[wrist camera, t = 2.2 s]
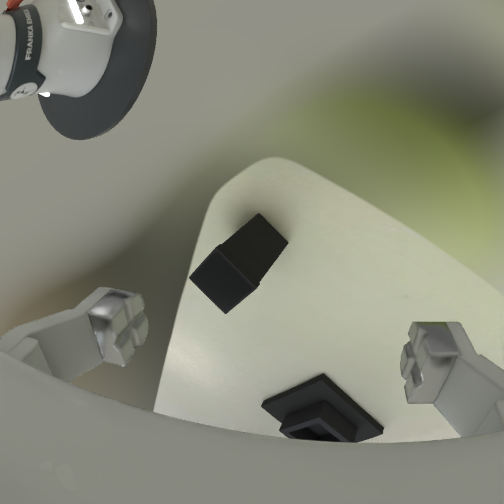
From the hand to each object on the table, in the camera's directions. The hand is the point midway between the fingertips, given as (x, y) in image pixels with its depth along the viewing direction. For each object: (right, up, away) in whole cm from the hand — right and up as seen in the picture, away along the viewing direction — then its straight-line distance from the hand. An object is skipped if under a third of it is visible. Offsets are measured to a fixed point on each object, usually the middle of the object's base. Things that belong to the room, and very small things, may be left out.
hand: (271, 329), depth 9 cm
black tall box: (0, +3, +24) cm, 24 cm away
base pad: (+10, -21, +32) cm, 40 cm away
